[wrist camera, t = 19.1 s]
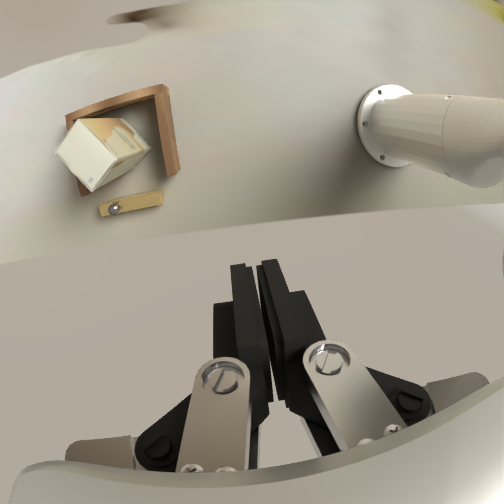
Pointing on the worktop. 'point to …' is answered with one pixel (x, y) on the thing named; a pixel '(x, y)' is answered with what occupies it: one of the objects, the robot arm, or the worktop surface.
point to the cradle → (134, 97)
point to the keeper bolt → (131, 203)
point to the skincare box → (101, 150)
